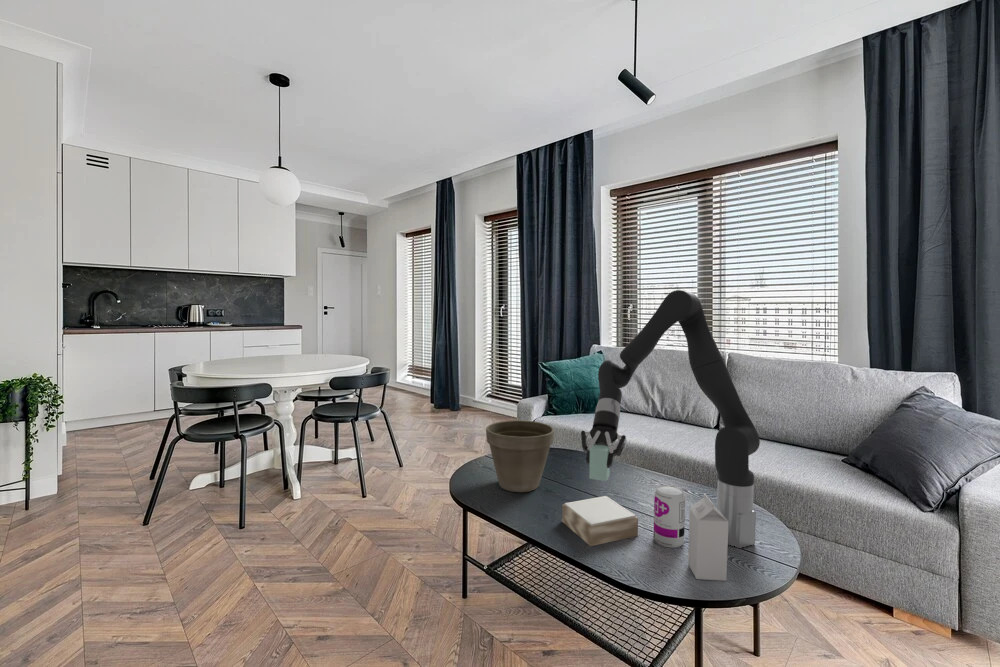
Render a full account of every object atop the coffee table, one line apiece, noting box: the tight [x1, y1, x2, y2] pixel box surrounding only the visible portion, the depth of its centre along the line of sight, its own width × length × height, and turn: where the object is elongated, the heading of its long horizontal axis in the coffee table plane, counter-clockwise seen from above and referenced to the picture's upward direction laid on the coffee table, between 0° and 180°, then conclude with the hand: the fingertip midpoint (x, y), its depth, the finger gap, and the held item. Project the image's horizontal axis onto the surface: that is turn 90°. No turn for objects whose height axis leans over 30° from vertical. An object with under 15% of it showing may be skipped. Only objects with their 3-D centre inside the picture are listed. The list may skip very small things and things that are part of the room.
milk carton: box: [687, 493, 729, 582], centre depth 120 cm, size 7×7×19 cm
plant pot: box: [485, 420, 555, 493], centre depth 177 cm, size 25×25×22 cm
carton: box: [588, 444, 611, 482], centre depth 143 cm, size 5×5×9 cm
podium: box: [561, 495, 639, 547], centre depth 144 cm, size 16×16×6 cm
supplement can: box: [653, 484, 686, 549], centre depth 136 cm, size 8×8×15 cm
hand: (598, 465), depth 141 cm, fingers closed on carton, 5 cm apart
